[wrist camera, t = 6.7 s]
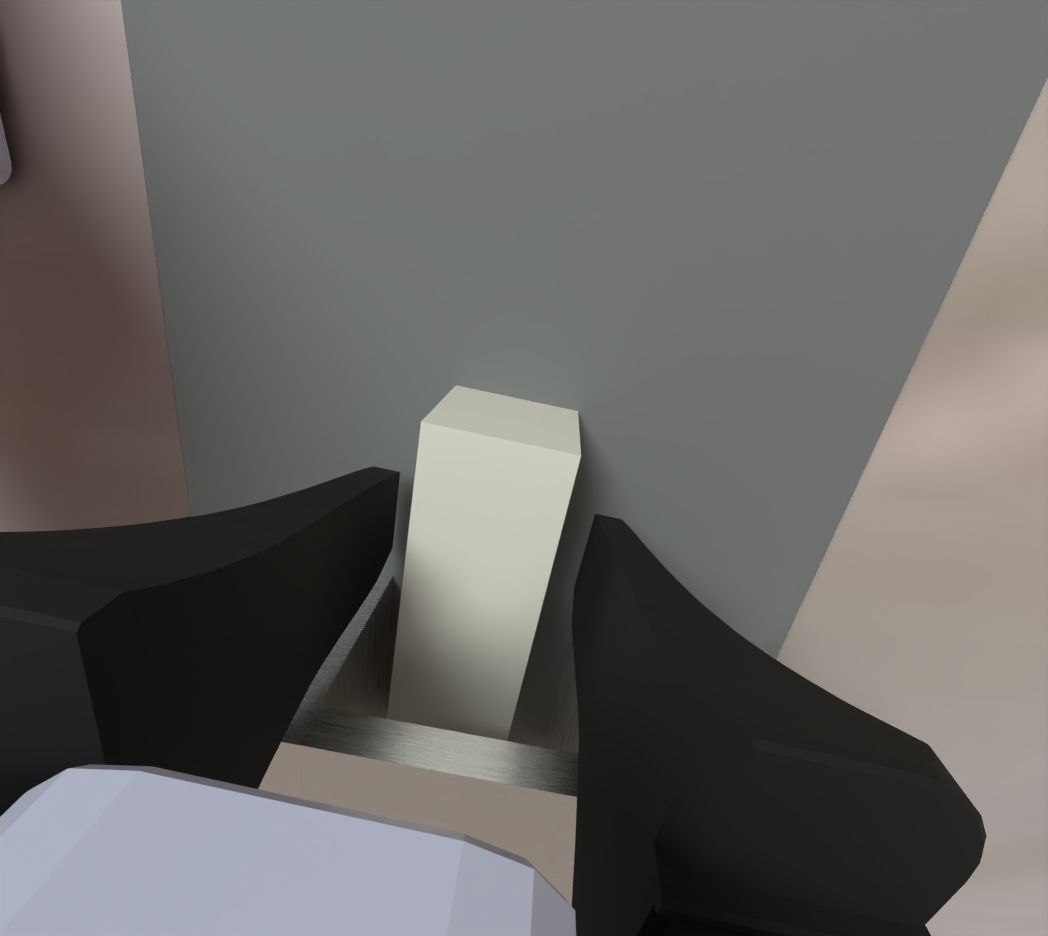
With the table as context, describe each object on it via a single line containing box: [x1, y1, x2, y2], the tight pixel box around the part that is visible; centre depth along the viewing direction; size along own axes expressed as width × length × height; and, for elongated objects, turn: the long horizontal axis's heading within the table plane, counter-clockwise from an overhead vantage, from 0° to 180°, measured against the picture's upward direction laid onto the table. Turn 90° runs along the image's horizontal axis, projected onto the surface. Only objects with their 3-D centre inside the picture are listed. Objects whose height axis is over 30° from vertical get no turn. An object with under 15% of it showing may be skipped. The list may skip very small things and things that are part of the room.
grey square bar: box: [258, 574, 769, 906], centre depth 12 cm, size 5×15×5 cm, turn 81°
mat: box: [121, 0, 1048, 748], centre depth 13 cm, size 37×16×1 cm, turn 171°
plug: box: [387, 385, 581, 741], centre depth 13 cm, size 16×3×3 cm, turn 169°
